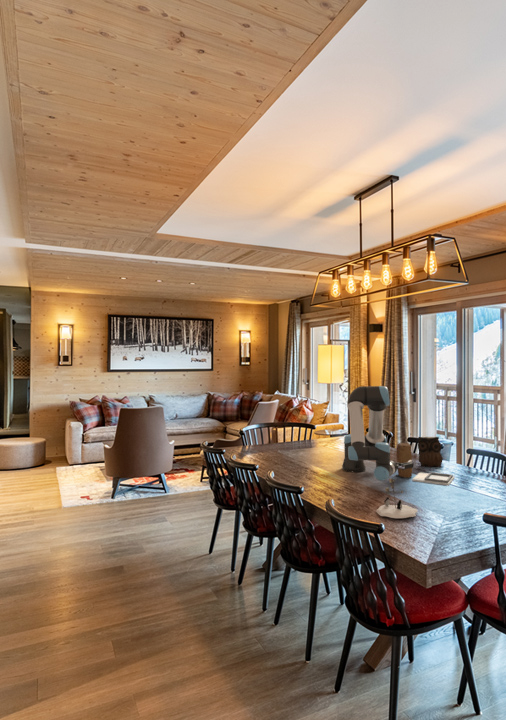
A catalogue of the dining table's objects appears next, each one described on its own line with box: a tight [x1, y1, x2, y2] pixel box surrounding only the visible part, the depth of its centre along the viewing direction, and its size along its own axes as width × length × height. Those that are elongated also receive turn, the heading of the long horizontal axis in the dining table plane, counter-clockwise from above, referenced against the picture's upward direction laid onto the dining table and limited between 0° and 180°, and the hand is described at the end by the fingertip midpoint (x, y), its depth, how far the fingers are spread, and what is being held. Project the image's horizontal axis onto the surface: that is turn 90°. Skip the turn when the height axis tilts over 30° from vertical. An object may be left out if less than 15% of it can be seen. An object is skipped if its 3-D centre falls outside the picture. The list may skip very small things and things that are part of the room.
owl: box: [417, 436, 444, 468], centre depth 296 cm, size 13×13×20 cm
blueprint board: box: [411, 471, 455, 486], centre depth 263 cm, size 20×18×2 cm
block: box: [396, 442, 413, 479], centre depth 273 cm, size 11×8×20 cm
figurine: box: [376, 478, 418, 519], centre depth 208 cm, size 20×18×16 cm
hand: (399, 460), depth 265 cm, fingers open, 13 cm apart
